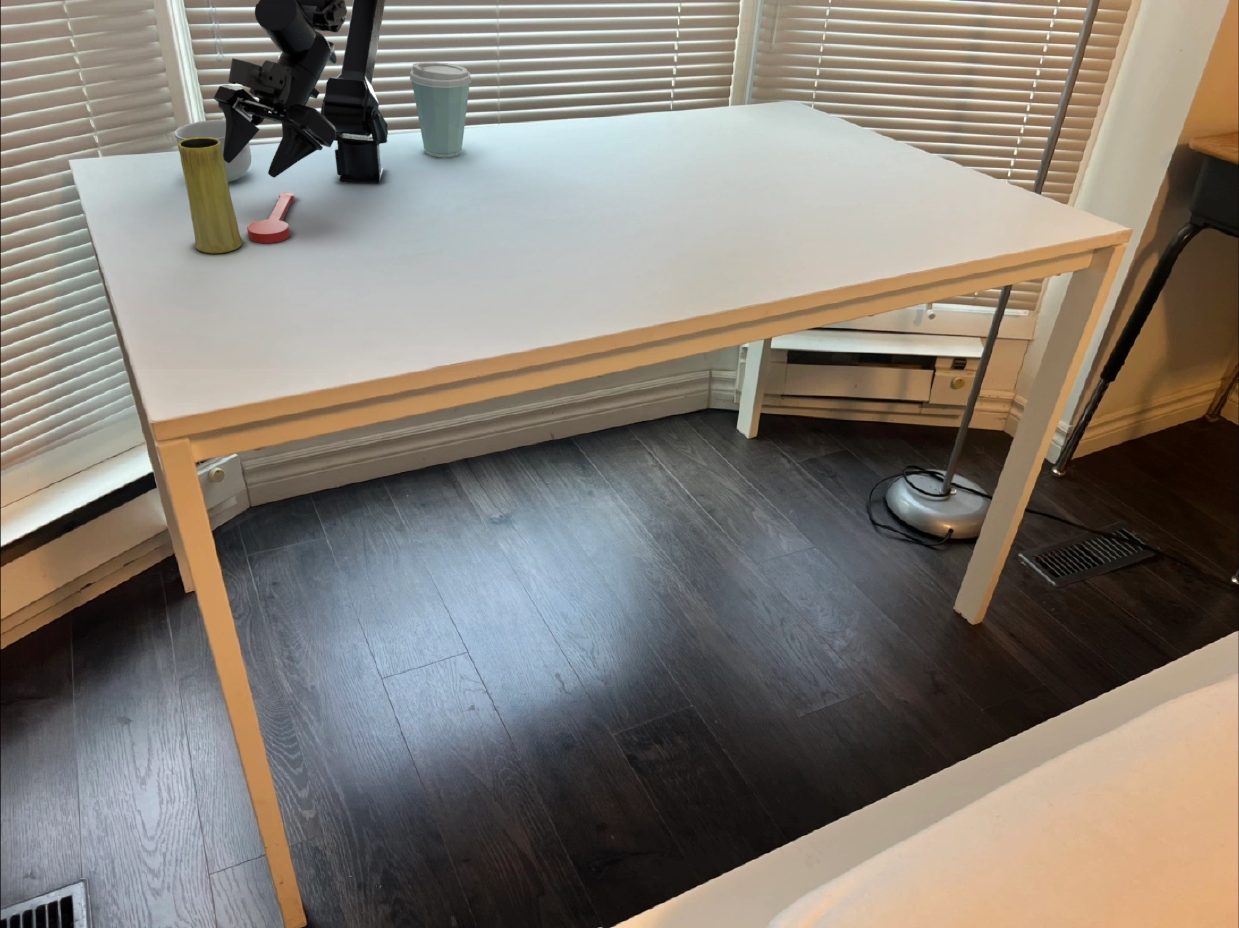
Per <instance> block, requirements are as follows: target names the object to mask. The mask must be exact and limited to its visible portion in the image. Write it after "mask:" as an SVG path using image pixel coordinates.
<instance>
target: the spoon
mask: <svg viewBox="0 0 1239 928" xmlns="http://www.w3.org/2000/svg"><path fill="white" fill-rule="evenodd" d="M295 201H296V199H295V194H294V193H292V192H287V191H286V192H281V193H279V194H278V200H277V202H276V204H275V205H274V207H273V208H272V211H271V213H270V214H269V217H268V219H262V220H256V221H253V222H251V223H249V224H248V225H247V227H246V229H247V235H248V239H249V240H250V241H252V242H254V243H258V244H275V243H280V242H282V241H286V240H287V239H289V238H290V235H291V234H290V226H289V223H287V222H286V221H283V220H284V219H285V217H286V215H287V213H288V210H289V209H290V206H291V204H293V203H294V202H295Z"/></svg>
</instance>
